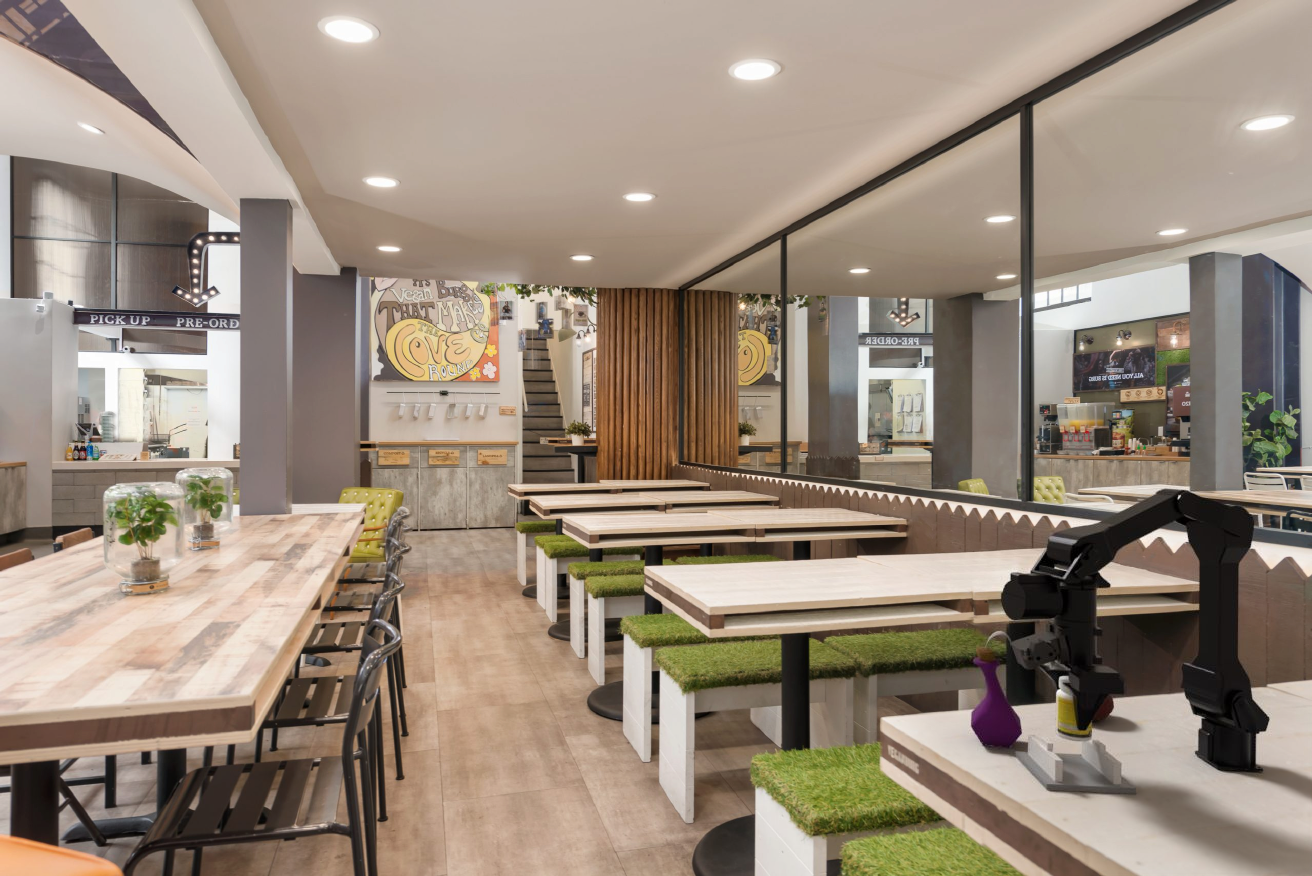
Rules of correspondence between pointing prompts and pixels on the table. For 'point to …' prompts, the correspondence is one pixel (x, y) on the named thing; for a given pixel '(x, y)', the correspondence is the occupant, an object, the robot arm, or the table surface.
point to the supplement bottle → (1068, 715)
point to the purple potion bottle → (994, 705)
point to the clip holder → (1074, 767)
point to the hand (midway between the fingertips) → (1073, 724)
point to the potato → (1104, 709)
